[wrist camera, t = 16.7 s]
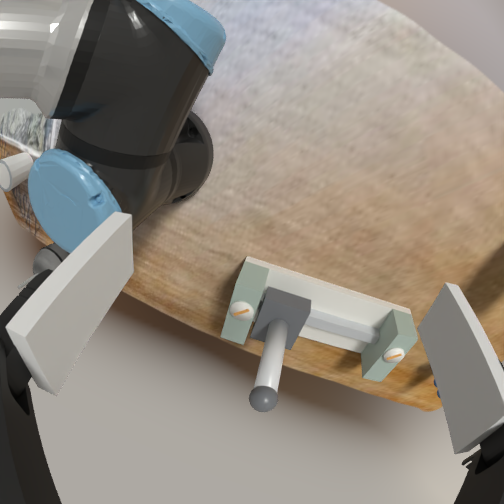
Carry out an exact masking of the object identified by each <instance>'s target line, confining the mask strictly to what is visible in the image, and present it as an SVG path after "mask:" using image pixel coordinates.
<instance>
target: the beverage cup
mask: <svg viewBox="0 0 504 504" xmlns="http://www.w3.org/2000/svg"><path fill="white" fill-rule="evenodd" d="M69 255H70V253H68V252H67V251H65V250H64V249H62V248H61V247H60V246H58V245H57V244H56V243H53V244H50V245H48V246H46V247H43V248H42V249H41V250H40V251H39V253H38V254H37V255H36V257H35V259H34V262H33V273H34V275H33V276H32V277H30V278H29V279H28V280H26V281H25V282H23V283H22V284H20V285H19V286H18V289H20V288H22V287H23V286H24V285H26V284H27V283H29V282H30V281H31V280H32V279H33V278H34V277H35V276H36V275H38V274H40V273H41V272H43V271H45V270H47V269H50V270H53V271H54V270H55V269H56V268H57V267H58V266H59V265H60V264H61V263H62V262H63V261H64V260H65V259H66V258H67V257H68V256H69Z"/></svg>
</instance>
